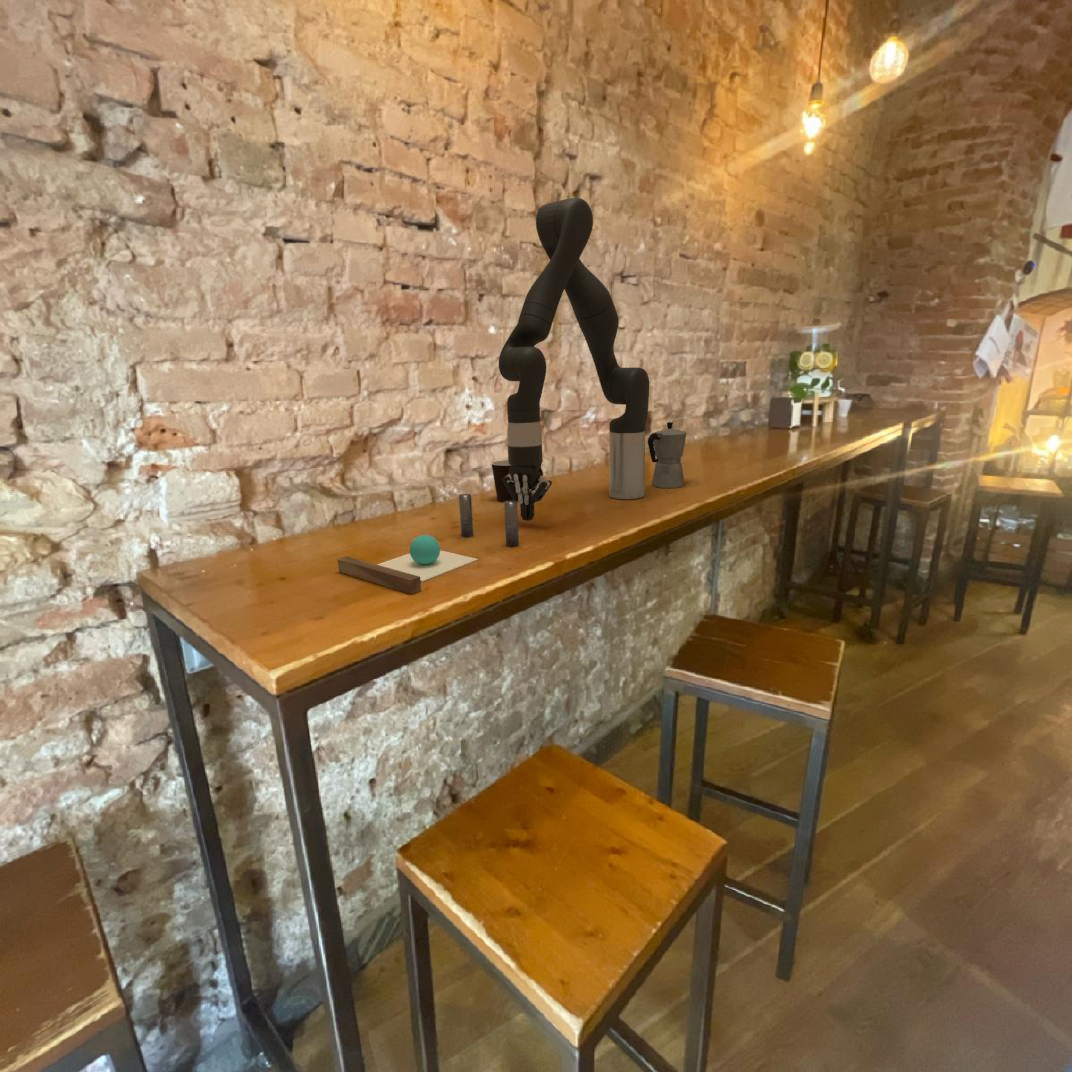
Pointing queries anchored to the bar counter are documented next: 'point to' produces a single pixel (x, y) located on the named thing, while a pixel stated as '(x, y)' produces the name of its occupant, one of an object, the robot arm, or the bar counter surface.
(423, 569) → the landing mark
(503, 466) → the coffee mug
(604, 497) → the bar counter surface
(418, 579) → the wall
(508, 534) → the post
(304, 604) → the bar counter surface
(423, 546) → the ball
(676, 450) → the coffeepot
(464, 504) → the post
